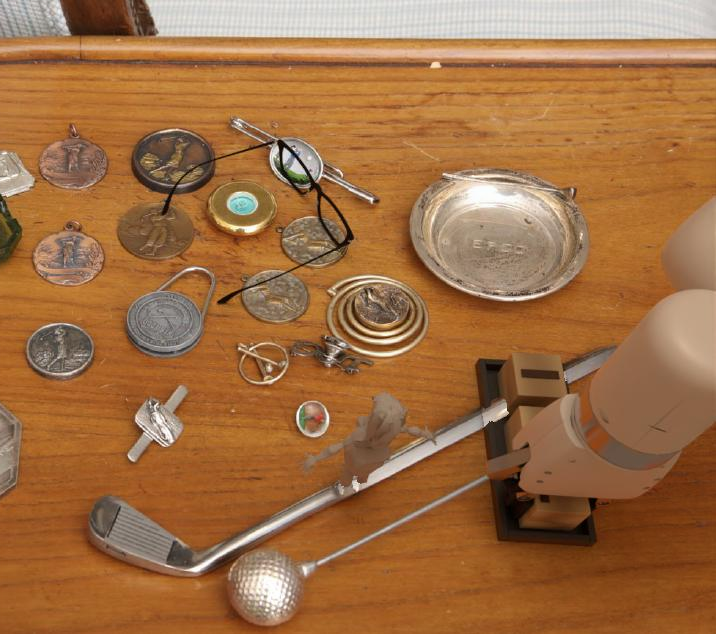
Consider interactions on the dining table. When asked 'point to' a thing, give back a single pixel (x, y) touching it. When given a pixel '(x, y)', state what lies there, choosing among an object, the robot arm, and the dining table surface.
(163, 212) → the eyeglasses
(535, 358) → the letter I
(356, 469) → the human figurine
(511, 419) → the wooden block with dot
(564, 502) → the wooden letter block
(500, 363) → the letter tray
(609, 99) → the dining table surface
